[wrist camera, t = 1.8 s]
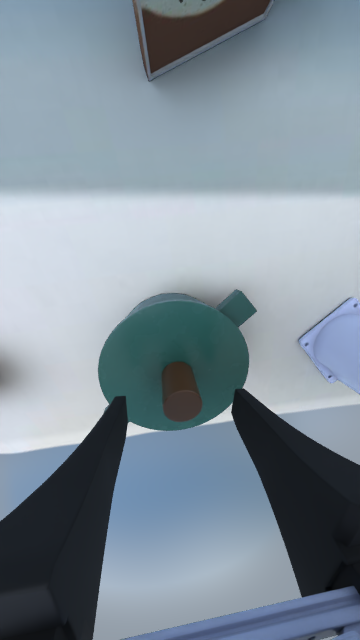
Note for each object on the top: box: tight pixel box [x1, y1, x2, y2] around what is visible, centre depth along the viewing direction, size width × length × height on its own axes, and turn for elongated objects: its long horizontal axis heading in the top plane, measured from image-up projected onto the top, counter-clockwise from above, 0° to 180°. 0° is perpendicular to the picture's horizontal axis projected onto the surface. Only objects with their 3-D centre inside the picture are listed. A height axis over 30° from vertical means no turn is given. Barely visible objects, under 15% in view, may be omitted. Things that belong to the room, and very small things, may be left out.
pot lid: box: [98, 300, 249, 431], centre depth 13 cm, size 12×12×4 cm
